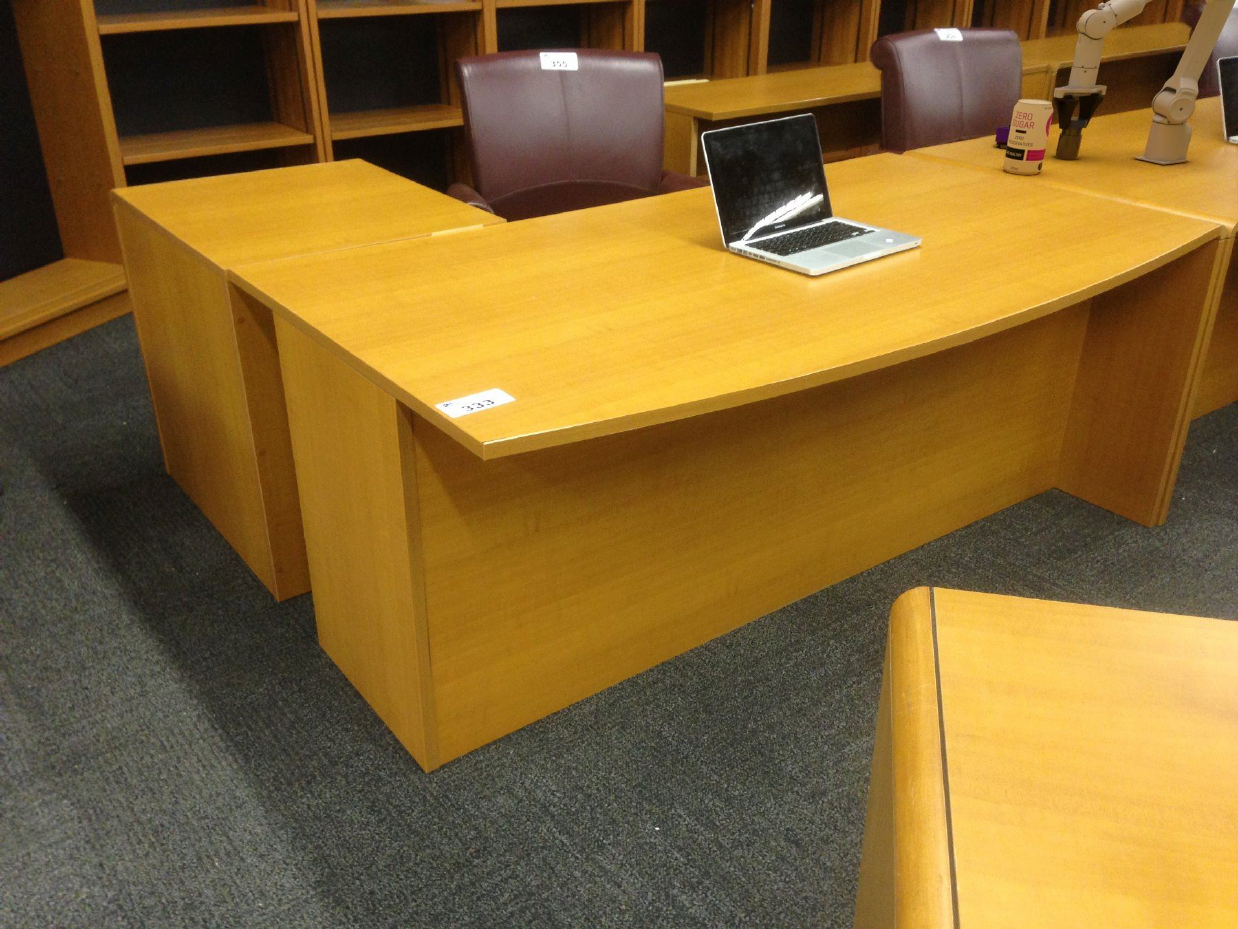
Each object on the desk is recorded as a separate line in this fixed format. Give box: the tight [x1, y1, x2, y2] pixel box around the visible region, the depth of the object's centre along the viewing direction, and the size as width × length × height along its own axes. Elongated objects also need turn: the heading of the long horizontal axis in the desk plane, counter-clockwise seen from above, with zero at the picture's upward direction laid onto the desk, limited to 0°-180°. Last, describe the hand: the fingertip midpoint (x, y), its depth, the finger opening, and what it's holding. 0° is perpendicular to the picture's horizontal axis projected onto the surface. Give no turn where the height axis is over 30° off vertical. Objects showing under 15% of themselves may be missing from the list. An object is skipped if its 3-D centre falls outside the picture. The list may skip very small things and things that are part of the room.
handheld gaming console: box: [994, 124, 1011, 150], centre depth 262 cm, size 9×5×15 cm
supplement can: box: [1002, 98, 1054, 176], centre depth 232 cm, size 8×8×15 cm
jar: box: [1054, 128, 1084, 161], centre depth 248 cm, size 5×5×7 cm
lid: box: [1069, 116, 1087, 129], centre depth 246 cm, size 6×6×2 cm
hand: (1072, 128), depth 246 cm, fingers closed on lid, 5 cm apart
